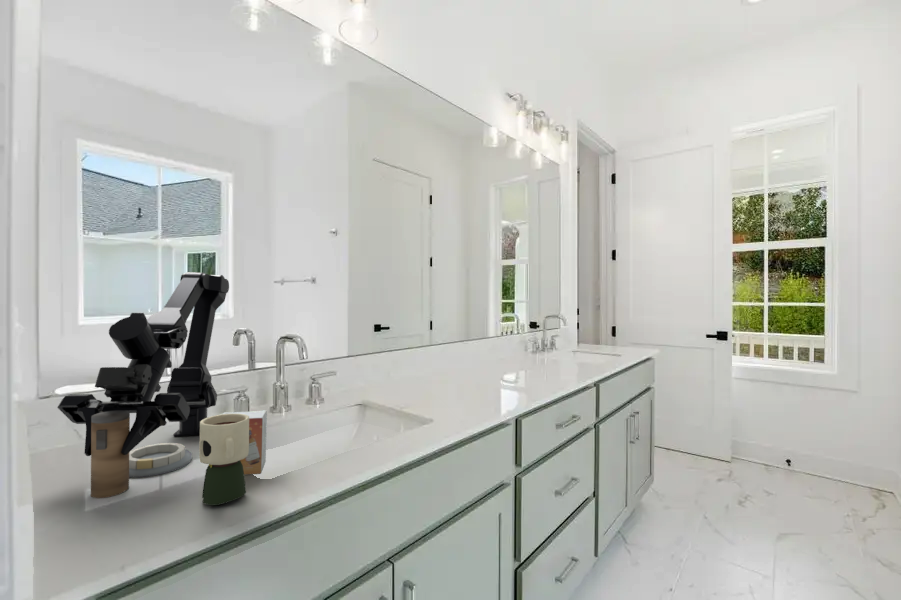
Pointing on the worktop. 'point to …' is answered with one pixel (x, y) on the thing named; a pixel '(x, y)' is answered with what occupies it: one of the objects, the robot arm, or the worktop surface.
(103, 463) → the brown wooden canister
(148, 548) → the worktop surface
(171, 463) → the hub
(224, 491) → the character mug
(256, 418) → the small box
